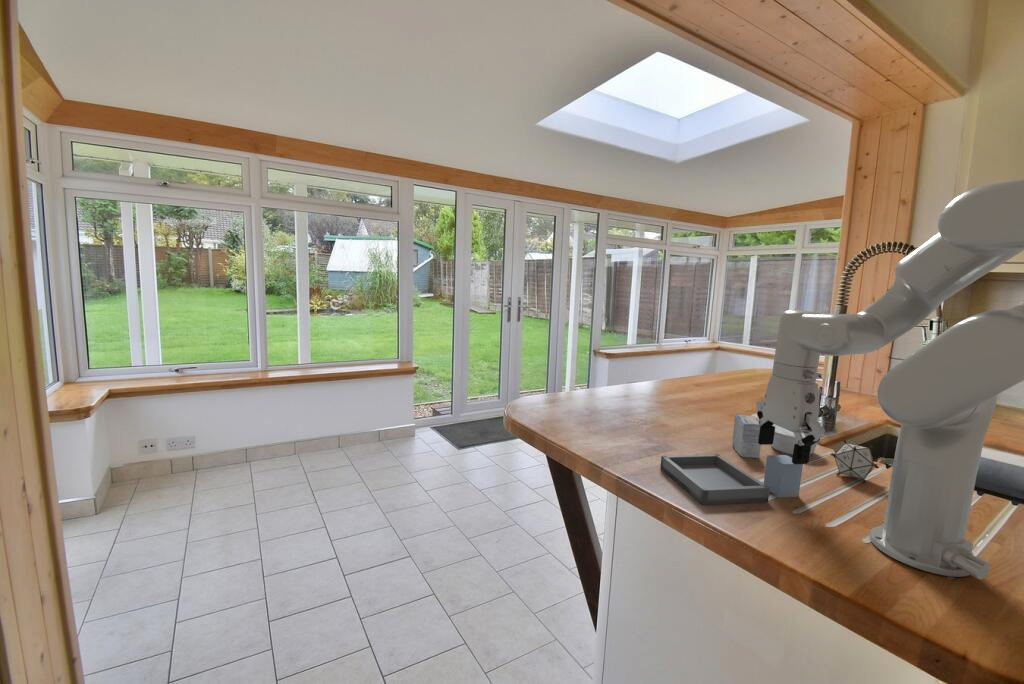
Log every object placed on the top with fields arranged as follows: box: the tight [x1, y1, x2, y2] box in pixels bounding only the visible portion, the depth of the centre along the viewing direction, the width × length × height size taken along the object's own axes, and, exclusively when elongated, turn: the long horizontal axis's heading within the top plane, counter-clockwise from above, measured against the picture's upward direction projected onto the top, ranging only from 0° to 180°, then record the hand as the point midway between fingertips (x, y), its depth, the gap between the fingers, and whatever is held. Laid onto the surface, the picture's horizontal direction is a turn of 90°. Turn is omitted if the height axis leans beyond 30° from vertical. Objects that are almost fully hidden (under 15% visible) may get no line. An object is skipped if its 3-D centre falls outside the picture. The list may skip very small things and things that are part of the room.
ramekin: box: [770, 424, 818, 456], centre depth 118 cm, size 11×11×5 cm
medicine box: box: [731, 414, 762, 459], centre depth 115 cm, size 8×4×9 cm, turn 168°
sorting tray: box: [660, 453, 770, 506], centre depth 96 cm, size 17×14×3 cm
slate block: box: [763, 454, 804, 498], centre depth 93 cm, size 4×4×7 cm
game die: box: [830, 439, 880, 484], centre depth 101 cm, size 9×8×10 cm
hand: (781, 453), depth 93 cm, fingers open, 9 cm apart
